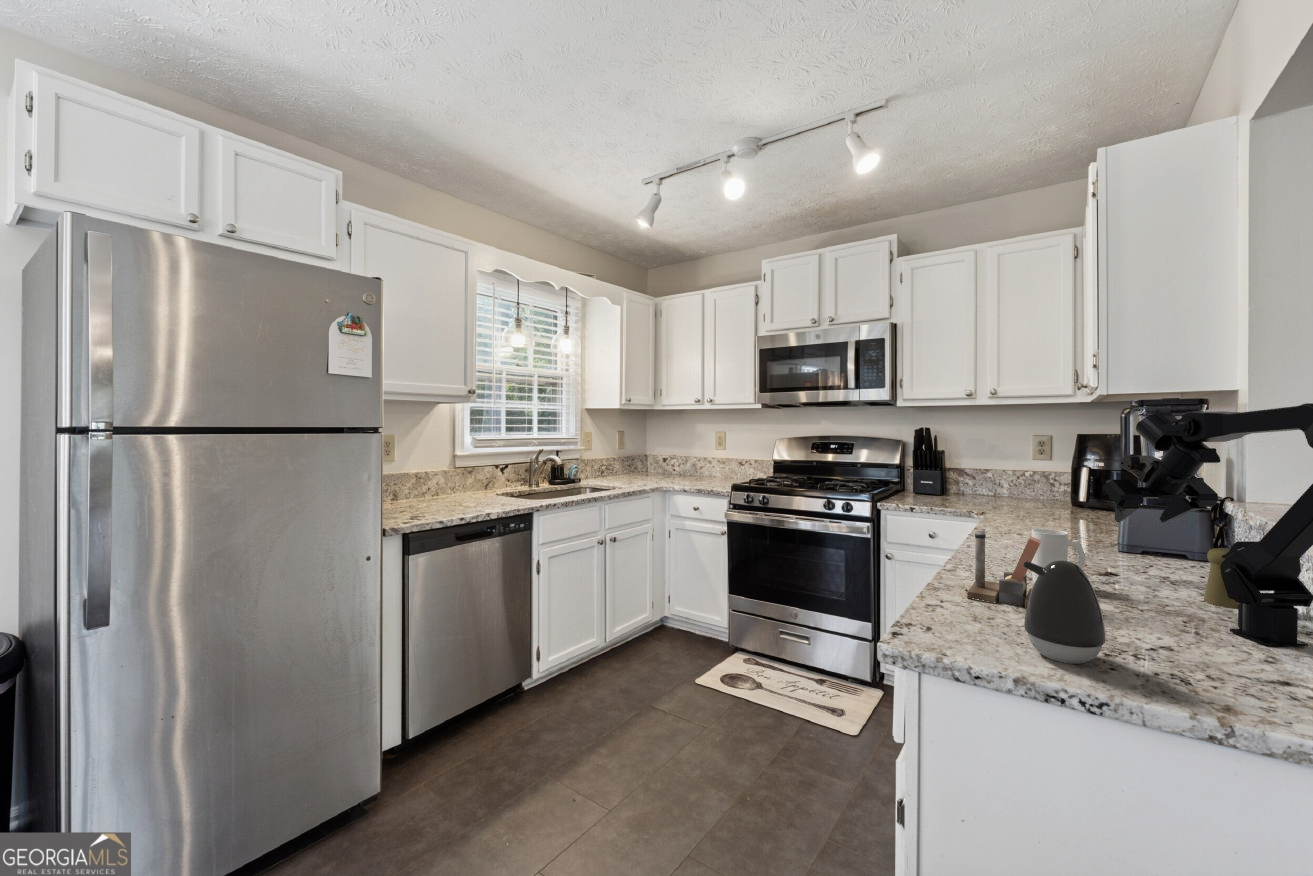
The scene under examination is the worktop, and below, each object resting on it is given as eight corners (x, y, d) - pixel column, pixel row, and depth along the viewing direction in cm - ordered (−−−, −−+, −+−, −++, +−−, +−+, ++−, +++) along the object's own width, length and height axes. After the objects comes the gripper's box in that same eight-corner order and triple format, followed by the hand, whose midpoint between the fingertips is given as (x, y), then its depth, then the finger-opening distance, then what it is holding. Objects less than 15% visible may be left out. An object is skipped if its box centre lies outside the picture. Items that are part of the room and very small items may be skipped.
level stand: (1059, 599, 115) (1059, 534, 114) (1055, 613, 106) (1056, 543, 106) (976, 586, 124) (976, 526, 124) (967, 598, 115) (967, 534, 115)
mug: (1025, 583, 126) (1026, 530, 126) (1039, 578, 130) (1039, 527, 129) (1078, 594, 118) (1078, 538, 117) (1090, 588, 121) (1091, 534, 121)
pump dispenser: (1026, 639, 94) (1026, 550, 93) (1105, 654, 87) (1106, 559, 87) (1018, 659, 86) (1019, 562, 86) (1104, 677, 79) (1105, 572, 79)
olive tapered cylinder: (1227, 599, 113) (1228, 545, 113) (1256, 609, 107) (1257, 552, 107) (1195, 598, 114) (1195, 545, 114) (1222, 608, 108) (1222, 552, 108)
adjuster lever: (1021, 597, 116) (1047, 542, 113) (1018, 602, 113) (1045, 546, 110) (1000, 588, 118) (1025, 533, 115) (997, 592, 115) (1023, 536, 112)
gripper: (1198, 440, 115) (1159, 494, 124) (1104, 441, 116) (1073, 495, 125) (1240, 476, 106) (1195, 531, 115) (1139, 476, 107) (1102, 531, 117)
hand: (1139, 521), depth 118 cm, fingers open, 9 cm apart
